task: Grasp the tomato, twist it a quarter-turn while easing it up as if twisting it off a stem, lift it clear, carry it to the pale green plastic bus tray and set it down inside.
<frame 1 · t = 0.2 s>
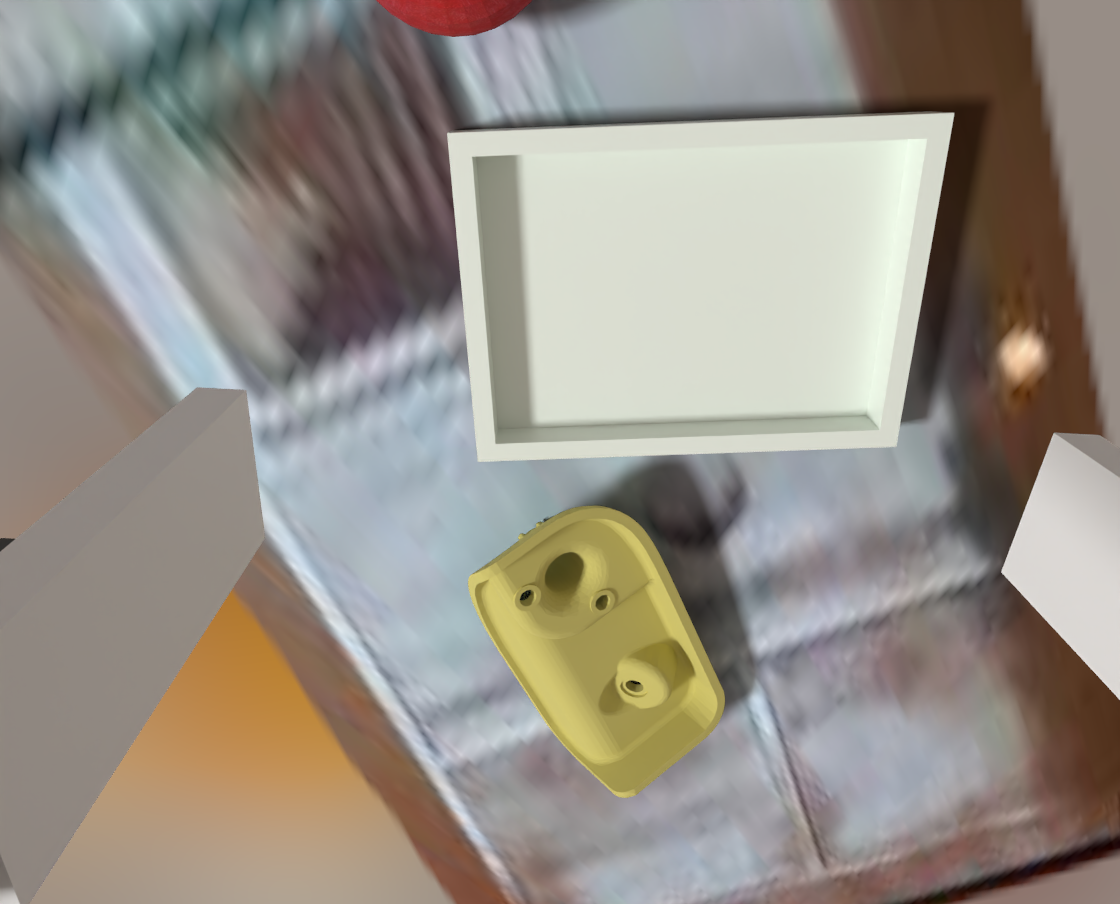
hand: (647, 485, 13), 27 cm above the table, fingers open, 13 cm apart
plastic component: (594, 606, 47), on the table
tray: (684, 291, 38), on the table
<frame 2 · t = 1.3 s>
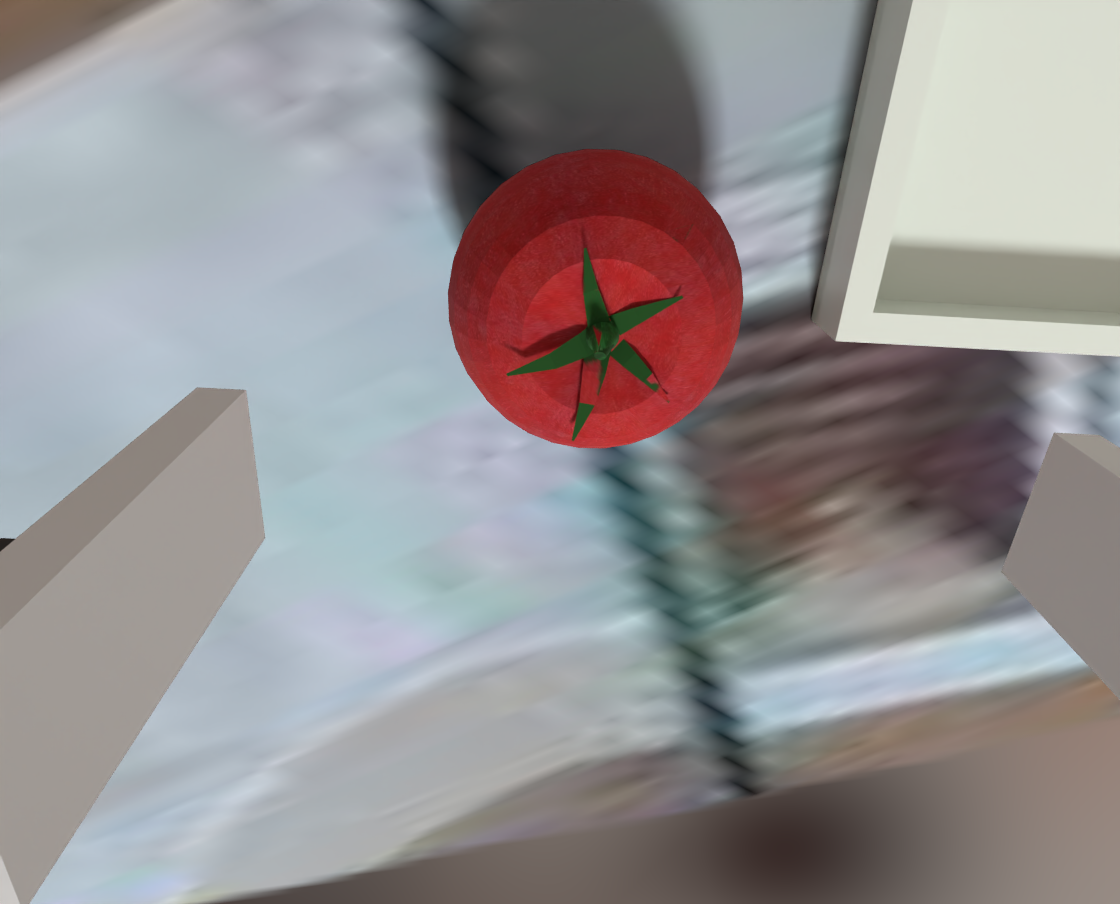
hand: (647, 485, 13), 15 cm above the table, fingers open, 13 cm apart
tomato: (588, 277, 26), on the table
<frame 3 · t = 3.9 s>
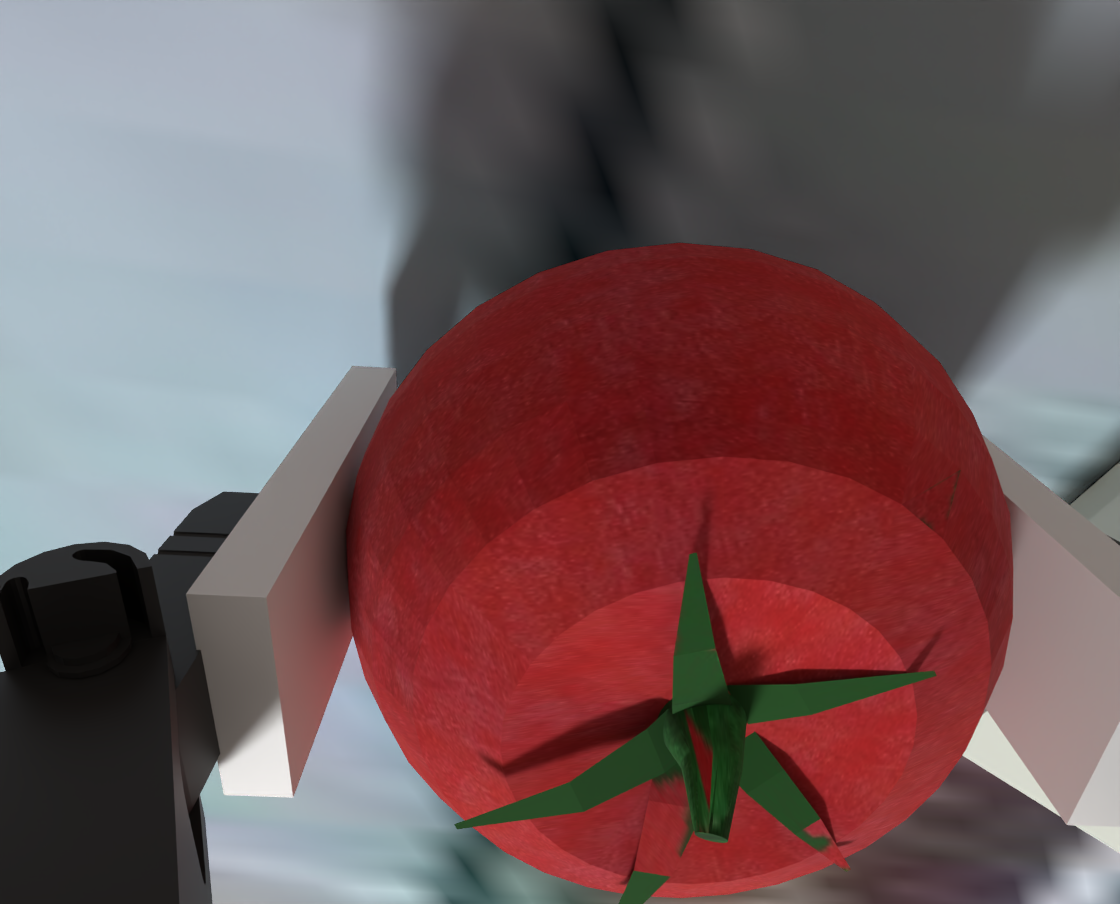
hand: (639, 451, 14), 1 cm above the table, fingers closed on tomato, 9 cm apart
tomato: (636, 447, 14), point 1 cm above the table, touching gripper
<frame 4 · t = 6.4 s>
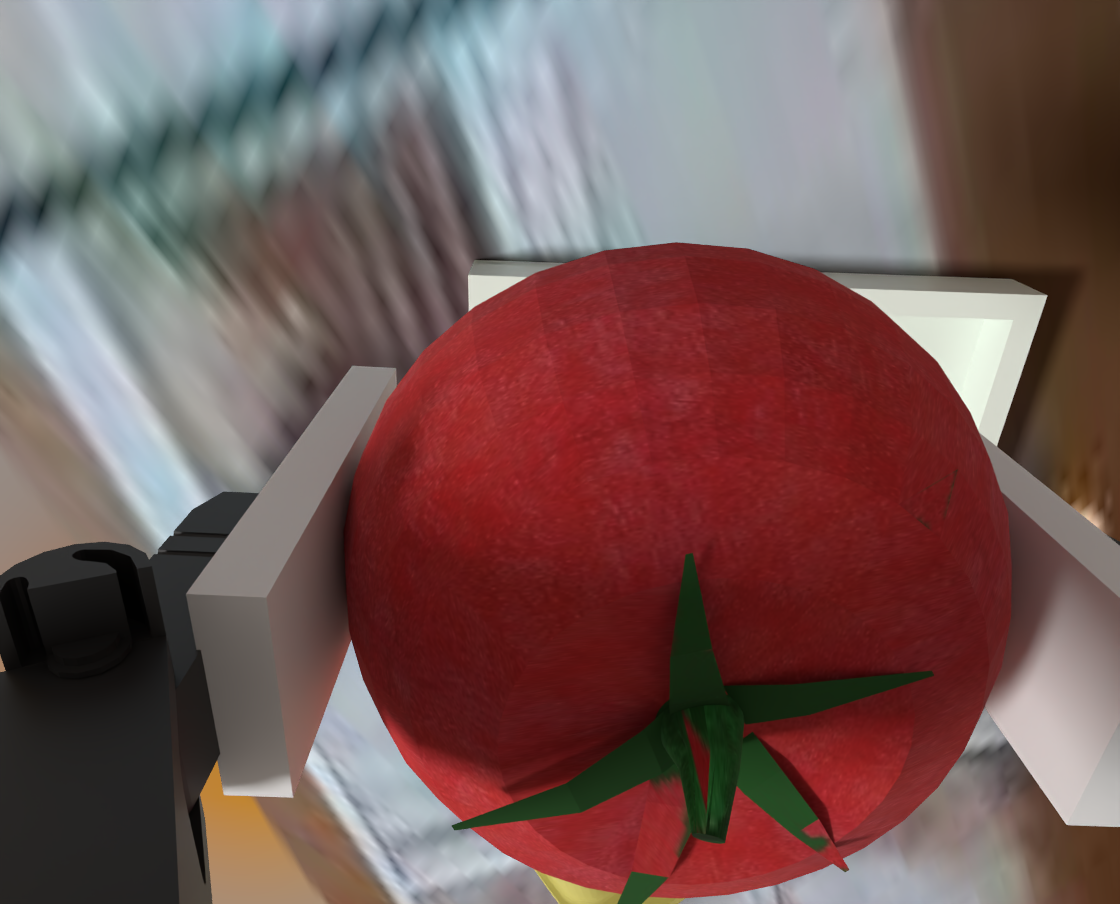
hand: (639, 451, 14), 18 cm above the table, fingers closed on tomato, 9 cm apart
plastic component: (594, 738, 43), on the table
tray: (719, 445, 34), on the table
tomato: (634, 447, 14), point 18 cm above the table, touching gripper
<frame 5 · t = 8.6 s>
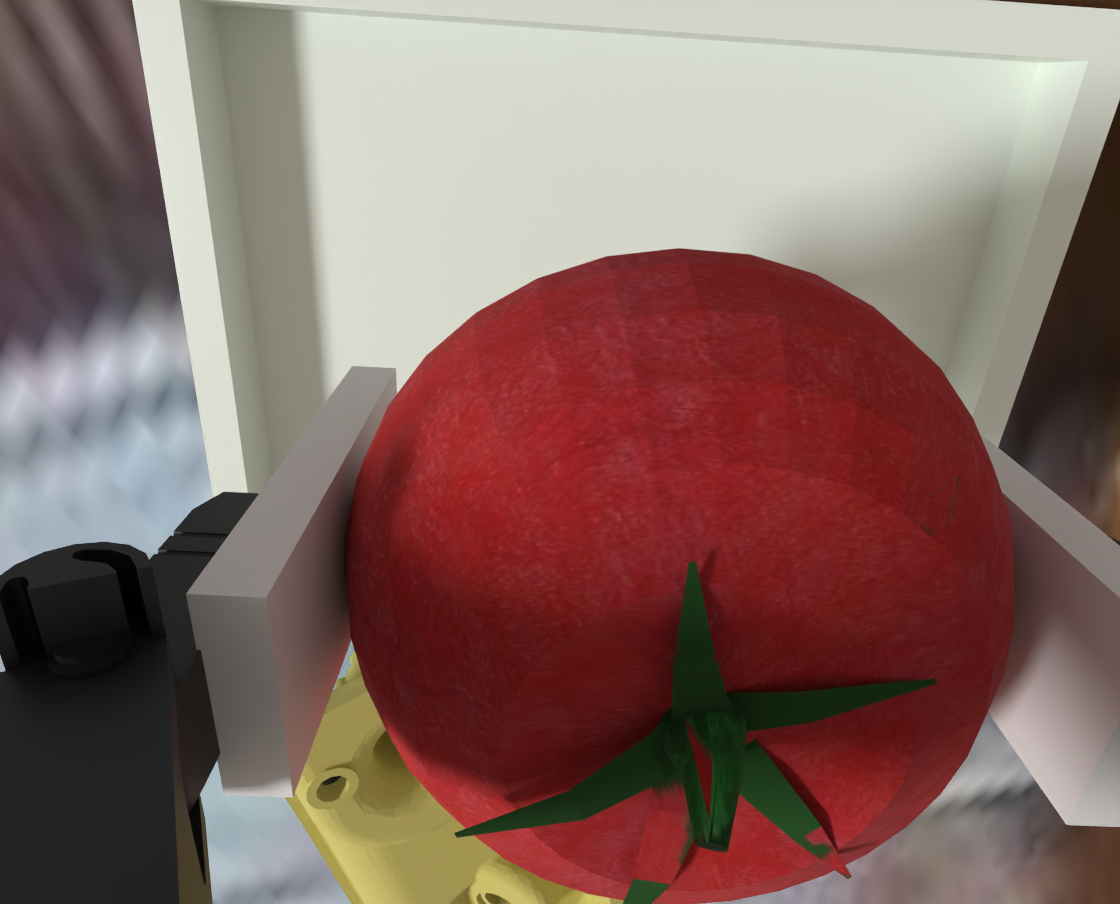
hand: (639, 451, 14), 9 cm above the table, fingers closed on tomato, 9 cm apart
plastic component: (459, 764, 30), on the table
tray: (607, 311, 22), on the table
tomato: (636, 450, 14), point 9 cm above the table, touching gripper
when the fingers open (2 cm above the table, at t = 10.3 s): tomato drops 1 cm, resting on tray.
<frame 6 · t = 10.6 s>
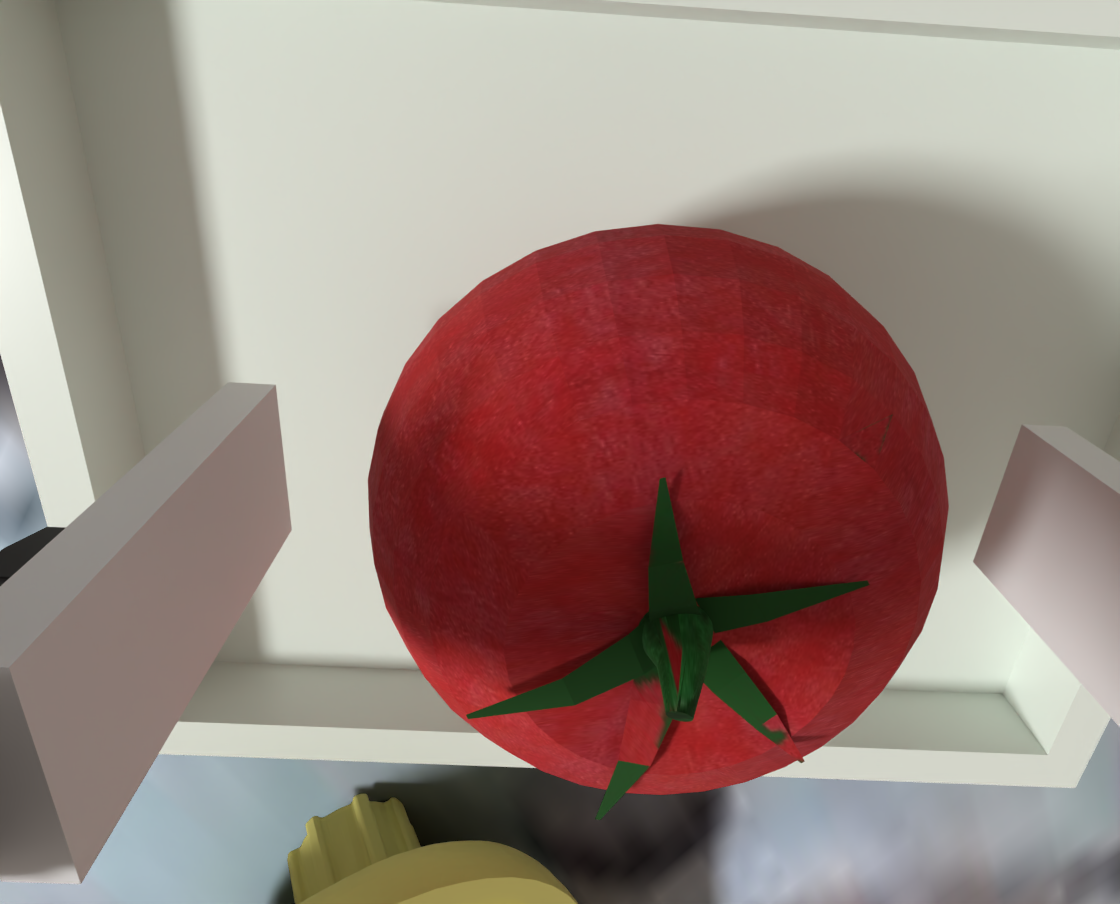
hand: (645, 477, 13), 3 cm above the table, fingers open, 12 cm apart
tray: (627, 402, 16), on the table
tomato: (626, 414, 16), resting on tray
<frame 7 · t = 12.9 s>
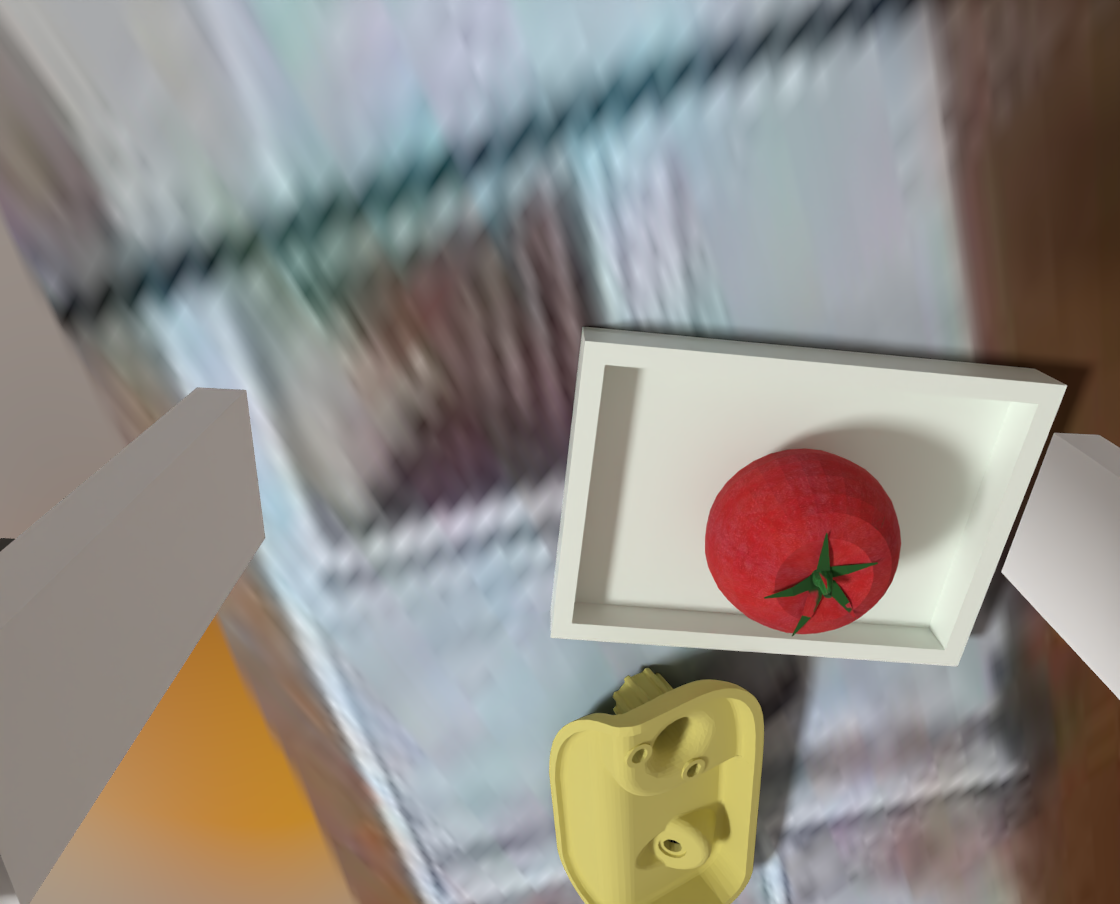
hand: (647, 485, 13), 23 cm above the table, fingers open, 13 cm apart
plastic component: (655, 754, 47), on the table
tray: (776, 497, 39), on the table
tomato: (777, 502, 39), resting on tray
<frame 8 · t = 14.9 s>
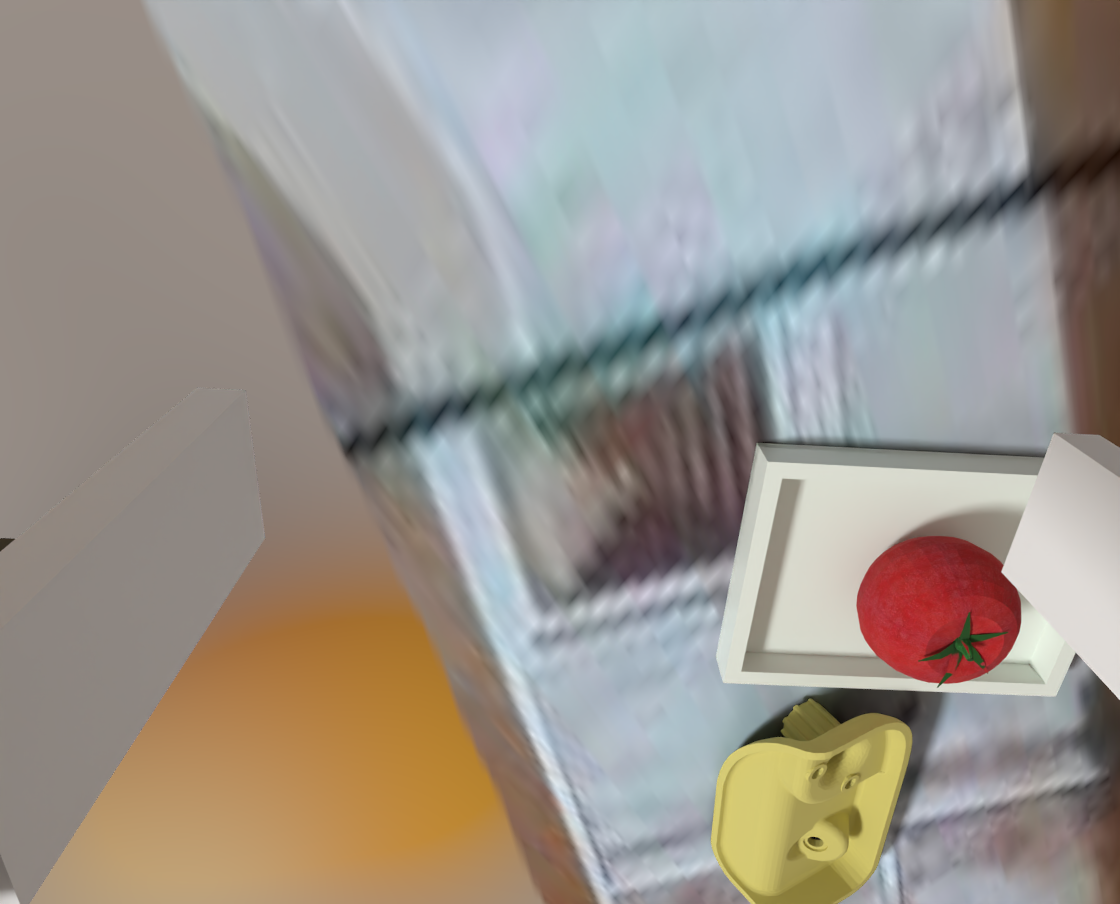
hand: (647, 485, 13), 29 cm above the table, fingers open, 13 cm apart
plastic component: (802, 766, 56), on the table
tray: (906, 565, 48), on the table
tomato: (907, 570, 47), resting on tray
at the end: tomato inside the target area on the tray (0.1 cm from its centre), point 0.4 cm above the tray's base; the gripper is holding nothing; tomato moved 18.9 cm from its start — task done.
